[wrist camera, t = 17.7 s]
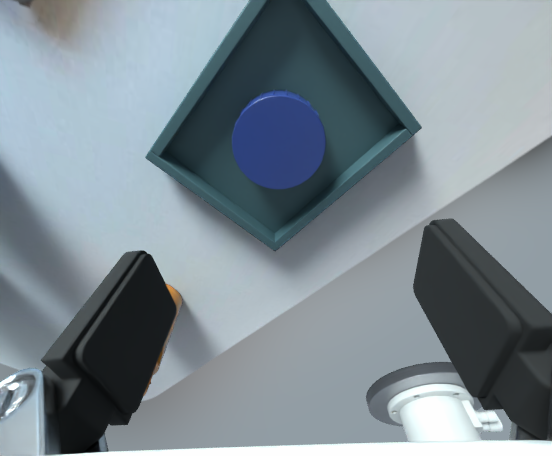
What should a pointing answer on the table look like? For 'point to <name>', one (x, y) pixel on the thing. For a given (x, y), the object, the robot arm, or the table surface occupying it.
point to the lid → (278, 140)
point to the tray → (297, 79)
